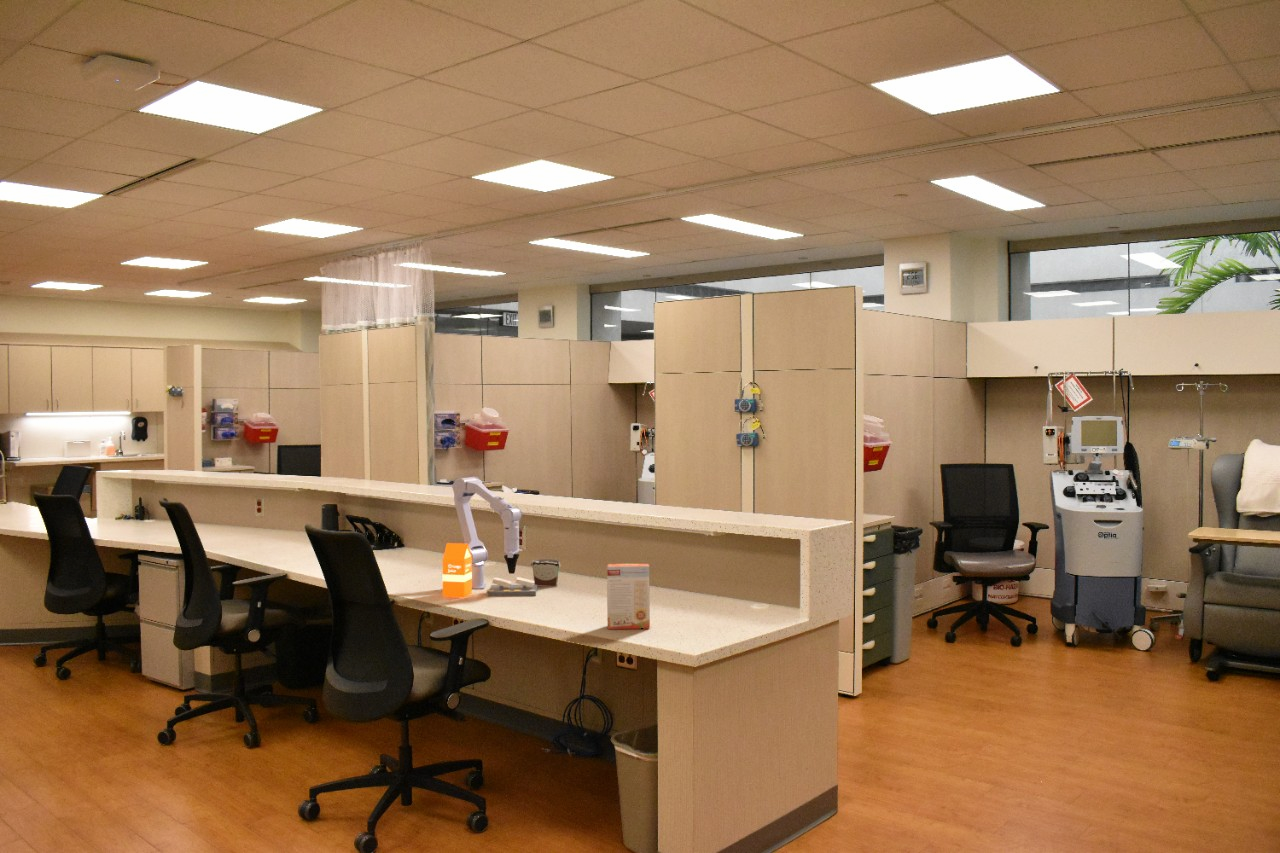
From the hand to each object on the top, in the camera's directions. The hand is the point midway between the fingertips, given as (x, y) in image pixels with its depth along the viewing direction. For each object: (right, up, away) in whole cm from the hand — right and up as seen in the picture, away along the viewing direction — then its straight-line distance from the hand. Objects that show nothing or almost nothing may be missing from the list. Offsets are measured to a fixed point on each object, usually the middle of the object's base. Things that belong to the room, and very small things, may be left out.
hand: (511, 573), depth 372 cm
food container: (+12, -7, +16) cm, 22 cm away
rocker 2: (+5, -4, +1) cm, 7 cm away
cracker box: (+46, -10, -56) cm, 73 cm away
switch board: (0, -8, 0) cm, 8 cm away
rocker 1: (-4, -4, 0) cm, 6 cm away
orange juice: (-20, -8, -5) cm, 22 cm away
